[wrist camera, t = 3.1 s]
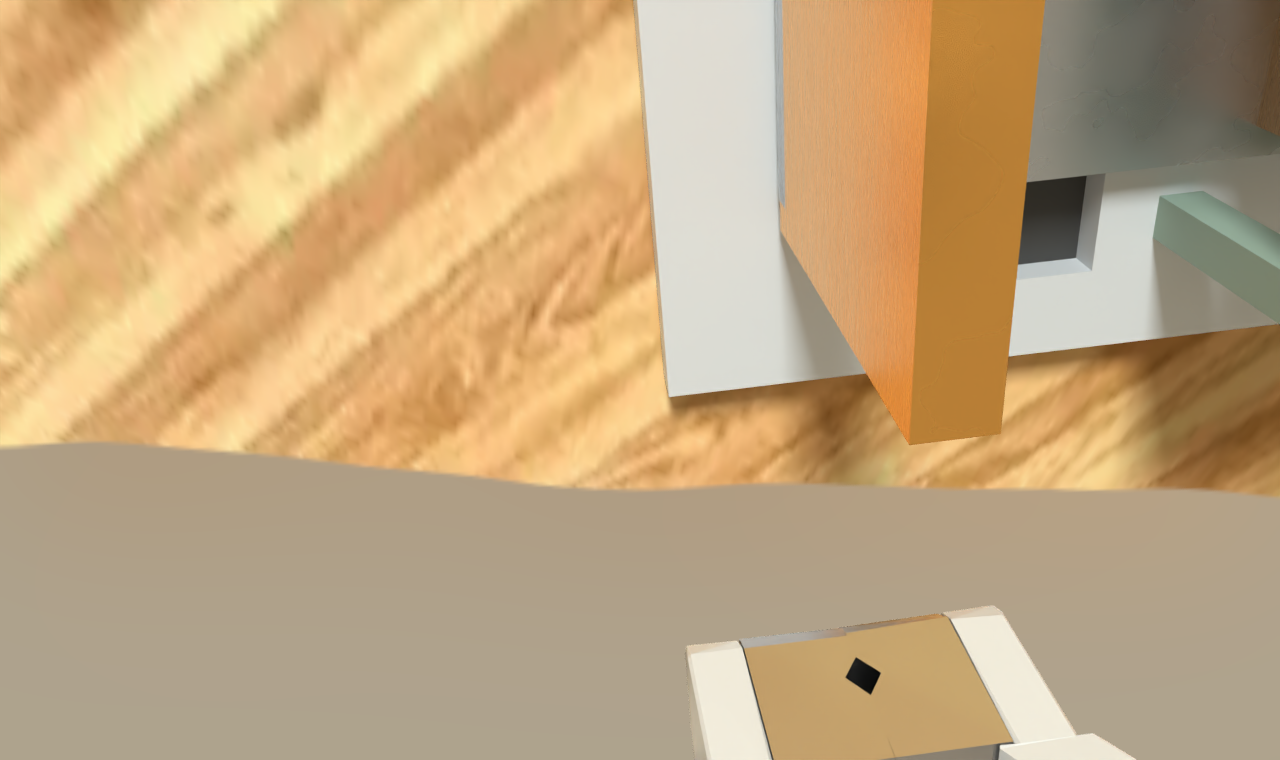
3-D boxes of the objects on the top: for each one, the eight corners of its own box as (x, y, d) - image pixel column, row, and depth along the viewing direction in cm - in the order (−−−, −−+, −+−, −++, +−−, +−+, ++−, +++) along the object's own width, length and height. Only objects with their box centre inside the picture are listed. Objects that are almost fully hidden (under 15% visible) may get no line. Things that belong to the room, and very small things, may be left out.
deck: (1957, -470, 29) (2025, -484, 28) (1648, 260, 40) (1686, 275, 38) (604, -350, 27) (608, -359, 26) (664, 377, 38) (669, 397, 37)
